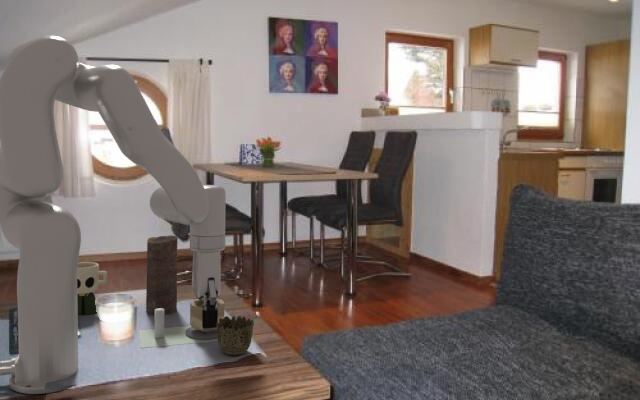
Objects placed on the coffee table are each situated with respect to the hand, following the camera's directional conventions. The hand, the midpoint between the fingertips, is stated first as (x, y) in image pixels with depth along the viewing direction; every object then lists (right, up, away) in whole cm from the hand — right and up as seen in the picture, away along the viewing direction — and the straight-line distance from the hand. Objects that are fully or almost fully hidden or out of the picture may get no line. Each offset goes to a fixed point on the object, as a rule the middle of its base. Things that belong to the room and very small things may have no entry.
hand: (207, 321), depth 121 cm
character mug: (-33, -2, +13) cm, 35 cm away
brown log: (-14, -2, +15) cm, 21 cm away
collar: (0, -1, 0) cm, 1 cm away
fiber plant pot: (+8, -6, -10) cm, 14 cm away
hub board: (-5, -4, -1) cm, 7 cm away
